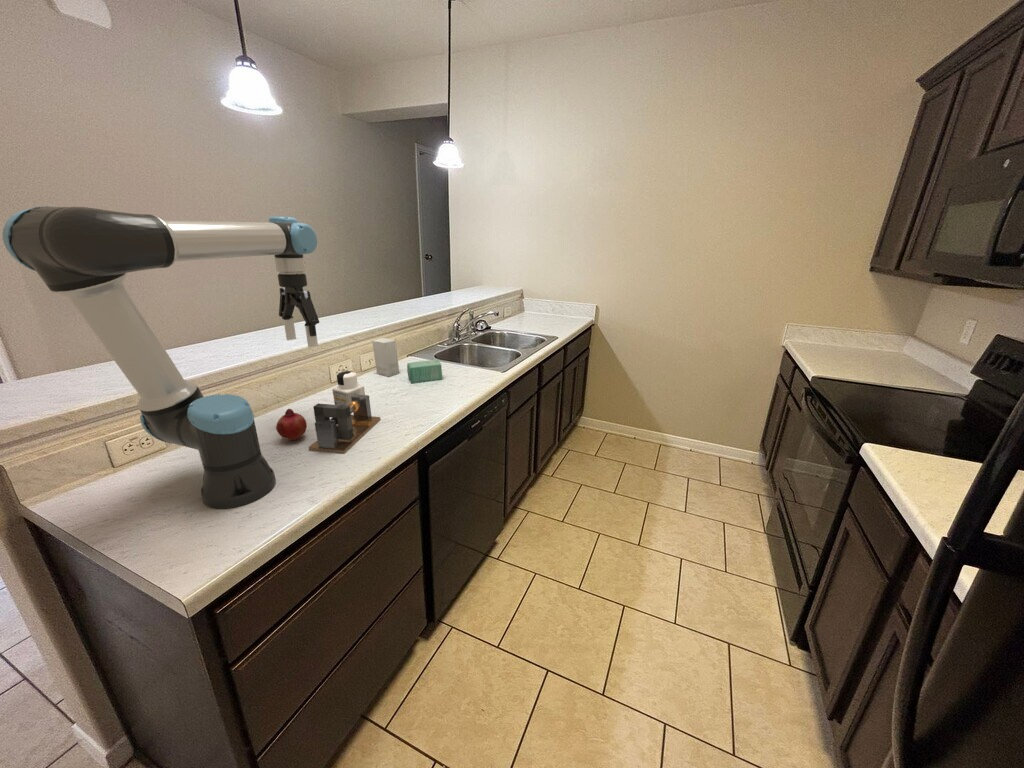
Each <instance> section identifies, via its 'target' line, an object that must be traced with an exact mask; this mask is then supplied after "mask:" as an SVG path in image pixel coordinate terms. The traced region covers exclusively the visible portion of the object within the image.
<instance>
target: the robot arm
mask: <svg viewBox="0 0 1024 768" xmlns="http://www.w3.org/2000/svg"><path fill="white" fill-rule="evenodd" d="M2 242H3V245H4V246H5V248H6V250H7V252H8V253H9V255H10V256H12V258H13V259H14V260H15V261H17V262H18V263H20V264H21V265H23V266H24V267H25V268H27V269H30V270H32V271H35V272H36V273H37V275H38V276H39V278H40V279H41V280H42V282H43V283H44V284H45V286H47V288H48V289H49V291H50V292H51V293H53V294H56V295H60V296H63V297H66V298H67V299H69V301H70V302H71V303H72V305H73V306H74V307H75V309H76V310H77V312H78V313H79V314H80V315H81V317H82V318H83V320H84V321H85V322H86V324H87V325H88V327H89V328H90V330H91V331H92V332H93V333H94V335H95V337H96V338H97V339H98V341H100V343H101V345H102V346H103V347H104V349H105V350H106V351H107V352H108V354H109V356H110V357H111V358H112V360H113V361H114V362H115V364H116V365H117V366H118V368H119V369H120V370H121V372H122V373H123V375H124V376H125V378H126V379H127V380H128V381H129V383H130V385H131V386H132V387H133V388H134V390H135V391H136V392H137V394H138V395H139V400H138V401H137V408H138V409H139V411H140V412H141V414H140V415H139V419H140V423H141V426H142V428H143V430H144V431H145V432H146V433H147V434H148V435H149V436H151V437H153V438H155V439H156V440H158V441H161V442H164V443H168V444H174V445H178V446H181V447H185V448H189V449H194V450H197V451H198V454H199V457H200V461H201V464H202V467H203V477H202V487H201V491H200V495H201V498H202V501H203V504H204V505H205V506H207V507H209V508H213V509H231V508H237V507H240V506H244V505H246V504H249V503H252V502H254V501H257V500H258V499H261V498H262V497H264V496H265V495H267V494H268V493H269V492H271V490H273V489H274V487H275V485H276V482H277V480H276V475H275V472H274V470H273V468H272V467H270V465H269V463H268V461H267V460H266V459H265V457H264V456H263V454H262V451H261V446H260V441H259V437H258V433H257V427H256V423H255V415H254V412H253V410H252V407H251V404H250V403H249V401H248V400H247V399H245V398H244V397H243V396H239V395H236V394H231V393H230V394H229V393H225V394H220V393H219V394H212V395H210V394H209V395H205V396H204V395H203V393H202V391H201V390H200V388H199V386H198V385H197V384H196V382H194V381H193V380H187V379H185V378H184V377H183V376H182V374H181V372H180V371H179V370H178V368H177V366H176V364H175V363H174V362H173V360H172V358H171V357H170V355H169V354H168V352H167V351H166V348H165V347H164V346H163V344H162V342H161V341H160V339H159V338H158V336H157V335H156V333H155V331H154V330H153V328H152V326H151V325H150V323H149V322H148V320H147V319H146V317H145V316H144V314H143V312H142V311H141V309H140V308H139V306H138V305H137V303H136V302H135V299H133V297H132V296H131V293H130V292H129V290H128V288H127V287H126V285H125V284H124V282H125V280H126V277H127V275H128V274H129V273H135V272H139V271H146V270H148V271H149V270H155V269H165V268H170V267H172V266H173V265H174V264H175V262H187V261H189V262H190V261H201V260H204V261H205V260H217V259H229V258H230V259H232V258H233V259H234V258H246V257H247V258H248V257H261V256H274V261H275V262H274V264H275V268H276V272H277V273H278V275H277V279H278V285H279V287H280V288H279V306H278V307H279V309H278V316H279V317H280V318H281V319H282V320H283V324H284V332H285V337H286V338H285V339H286V341H293V340H297V335H296V329H295V328H296V327H295V321H294V316H293V314H294V310H295V308H297V309H298V310H299V313H300V314H301V316H302V318H303V320H304V322H305V324H304V327H305V328H304V329H305V335H306V341H307V342H306V343H307V347H308V348H314V347H318V346H319V343H318V336H317V334H318V333H317V329H316V326H317V324H320V319H319V317H318V314H317V311H316V309H315V306H314V304H313V301H312V298H311V293H310V291H309V290H304V287H307V286H308V280H307V279H308V278H307V274H306V273H304V272H305V271H306V267H305V266H306V265H305V264H306V262H305V259H304V255H309V254H312V253H313V252H314V251H315V250H316V249H317V245H318V238H317V234H316V232H315V230H314V229H313V227H312V226H310V225H309V224H307V223H304V222H303V223H302V222H299V220H298V219H297V218H295V217H292V216H291V217H290V216H270V217H268V222H267V221H266V222H260V221H259V222H258V221H255V222H253V221H213V220H211V221H205V220H202V221H200V220H163V219H161V217H159V216H157V215H155V214H151V213H150V214H148V213H147V214H144V213H143V214H142V213H131V212H130V213H129V212H121V211H113V210H109V209H108V210H107V209H103V208H102V209H100V208H94V207H87V206H48V205H45V206H34V207H32V208H27V209H23V210H20V211H18V212H16V213H15V212H14V214H13V215H11V216H10V217H8V219H7V220H6V222H5V223H4V227H3V228H2Z"/></svg>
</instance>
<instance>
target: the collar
mask: <svg viewBox="0 0 1024 768" xmlns="http://www.w3.org/2000/svg"><path fill="white" fill-rule="evenodd" d="M312 409H313V414H314V419H315V420H314V421H315V423H316V422H317V421H318V420H330V419H331V418H337V422H338V426H336V427H337V434H338V439H341V440H351V439H352V438H353V437H354V434H353V427H352V420H351V415H352V413H351V412H350V406H344V405H335V404H329V403H319V402H318V403H316V404H315V405H313V407H312Z"/></svg>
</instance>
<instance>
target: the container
mask: <svg viewBox="0 0 1024 768" xmlns="http://www.w3.org/2000/svg"><path fill="white" fill-rule="evenodd" d="M336 380H337V386H335V387H333V388H332V394H333V395H332V396H333V403H334V405H344V406H348V404H349V403H351V402H352V399H351V397H352V396H353V395H355V394H357V395H366V393H365V392H366V391H365V386H364V384H363V385H362V384H358V383H359V382H358V376H357V373H356V372H355V371H351V370H344V371H341V372H339V373H337V374H336Z"/></svg>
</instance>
